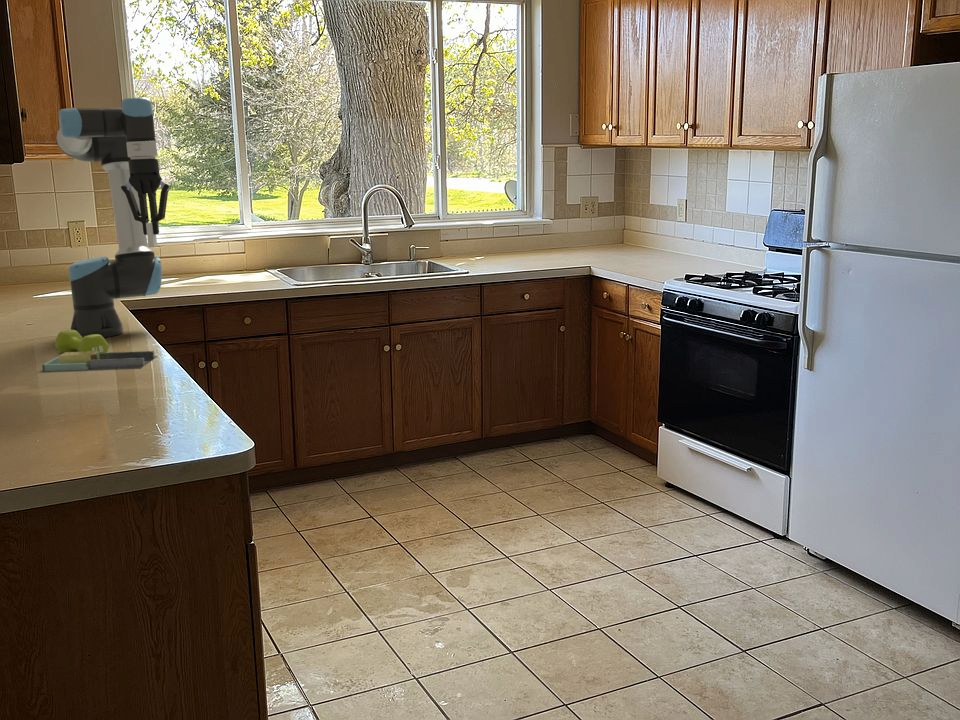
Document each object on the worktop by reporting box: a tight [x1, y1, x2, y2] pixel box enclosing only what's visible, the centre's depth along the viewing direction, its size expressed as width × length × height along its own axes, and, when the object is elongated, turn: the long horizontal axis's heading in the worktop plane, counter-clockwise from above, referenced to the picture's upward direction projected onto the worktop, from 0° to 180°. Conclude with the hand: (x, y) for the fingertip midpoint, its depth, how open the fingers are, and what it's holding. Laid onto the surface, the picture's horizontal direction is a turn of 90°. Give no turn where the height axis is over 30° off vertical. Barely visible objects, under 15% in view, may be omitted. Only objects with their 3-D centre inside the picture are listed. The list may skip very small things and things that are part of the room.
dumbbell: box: [54, 329, 109, 354], centre depth 254 cm, size 16×8×7 cm, turn 51°
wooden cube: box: [75, 351, 97, 367], centre depth 239 cm, size 4×4×4 cm
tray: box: [41, 354, 100, 372], centre depth 239 cm, size 11×11×3 cm
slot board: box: [84, 350, 159, 372], centre depth 239 cm, size 14×14×4 cm
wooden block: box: [58, 351, 79, 364], centre depth 239 cm, size 4×4×4 cm
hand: (152, 246), depth 251 cm, fingers closed
